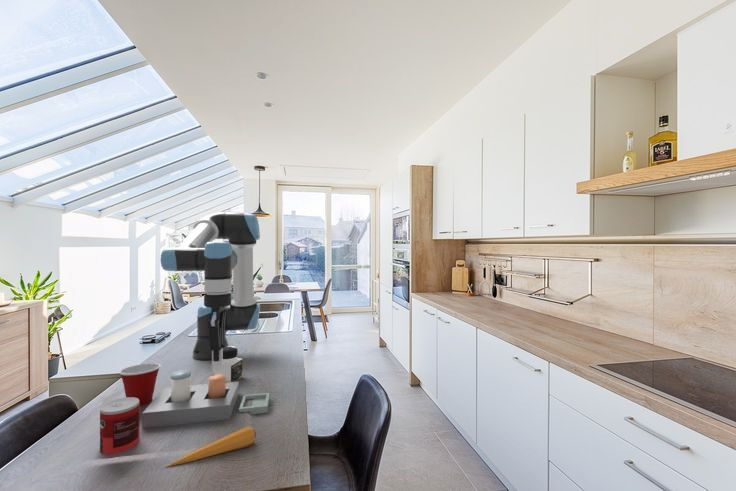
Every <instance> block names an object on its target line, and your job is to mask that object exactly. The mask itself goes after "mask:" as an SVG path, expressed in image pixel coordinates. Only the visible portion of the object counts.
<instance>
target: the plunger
mask: <svg viewBox="0 0 736 491" xmlns="http://www.w3.org/2000/svg"><path fill="white" fill-rule="evenodd" d="M207 381H208V383H207V384H208V399H215V398H225V397H226V383H227V382H226V376H225V375H222V374H219V375H214V374H213V375H211V376H209V377H208V380H207Z"/></svg>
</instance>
